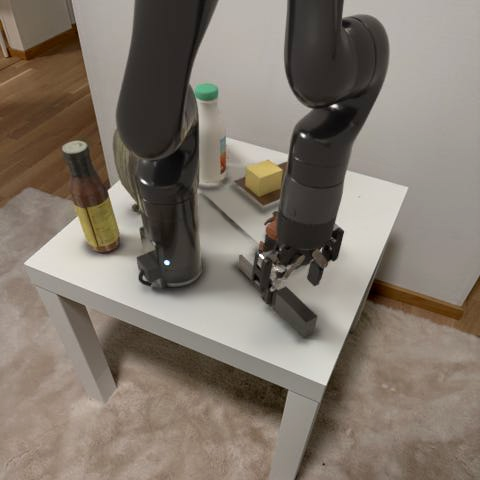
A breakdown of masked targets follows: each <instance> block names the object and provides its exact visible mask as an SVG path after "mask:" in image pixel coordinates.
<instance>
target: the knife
mask: <svg viewBox="0 0 480 480" xmlns="http://www.w3.org/2000/svg"><path fill="white" fill-rule="evenodd" d="M238 269H239V270H240V271H241V272H243V273H244V275H245V276H247V278H249V280H251V276H252V270H253V263H251V262H250V261H249V260H248V259H247V258H246V257H245V256H244V255H243V254H238ZM272 309H273V310H274V311H275V312H276V313H277V314H278V315H279V316H280V317H281V318H282V319H283V321H285V322H286V323H287V325H289V326H290V327H291V329H293V330H294V331H295V332H296V333H297V334H298V335H299V336H300V337H301V339H304V338H306V337H308V336H309V335H311V334H313V333H314V332H315V328H316V324H317V321H318V316H319V315H317V314H316V313H315V312H314V311H313V310H312V309H311V308H309V307H308V305H306V303H304V302H303V301H302V300H301V299H300V298H299V297H298V296H297V295H296V294H295V293H294V292H293V291H292V290H291V289H290V288H289V287H287V286H286V285H285V286H283V287H281V288H279V289H278V290H277V296H276V302H275V305H274V306H272Z"/></svg>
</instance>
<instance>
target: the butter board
mask: <svg viewBox="0 0 480 480" xmlns="http://www.w3.org/2000/svg"><path fill="white" fill-rule="evenodd" d="M276 165H277V166H278V167H279V168H281V169H282V170H283V172H282V181H281V187H282V182H283V179H284V175H285V172H286V168H287V161H285V162H282V163H280V164H276ZM245 179H246V176H244V177H241V178H238V179H235V180H234V181H233V182H234V183H235V184H236V185H238V186H239V187H240V188H241V189H242V190H244V191H245V192H246V193H247V194H248V195H250V196H251V197H252V198H253V199H254V200H256V201H257V202H258V203H259V204H261V206H263V207H265V206H268V205H269V204H271V203H275V202H277V201H280V194H281V189H278V190H275V191H273V192H270V193H268V194H265V195H263V196H260V197H258V196H257V195H256V194H254V193H253V192H252V191H251V190H250V189H248V188H247V187H246V186H245Z"/></svg>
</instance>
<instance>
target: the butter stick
mask: <svg viewBox="0 0 480 480" xmlns="http://www.w3.org/2000/svg"><path fill="white" fill-rule="evenodd" d="M277 165H278V164H276V163H274V161H271V159H265V160H263V161H259V162H256V163H253V164H252V165H251V164H250V165H249V166H246V167H245V177H246V179H245V186H246V187H247V188H248V189H250V190H251V191H252V192H253V193H254V194H256V195H257V196H258V197H260V196H263V195H265V194H268V193H270V192H273V191H275V190H278V189H281V181H282V172H283V170H282V169H281V168H279V167H278V166H277Z"/></svg>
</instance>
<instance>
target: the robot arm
mask: <svg viewBox="0 0 480 480" xmlns="http://www.w3.org/2000/svg"><path fill="white" fill-rule="evenodd" d="M219 1H220V0H134V3H133V15H132V17H133V18H132V29H131V37H130V45H129V48H128V55H127V59H126V63H125V68H124V73H123V77H122V82H121V85H120V90H119V94H118V97H117V103H116V108H115V124H116V125H115V126H116V129H117V130H118V133H119V136H120V138H121V140H122V142H123V143H124V145H125V147H126V148H127V149H128V150H129V151H130V152H131V153H132V154H133V155H134V156H135V157H137V158H138V162H137V166H136V171H135V183H136V188H137V194H138V200H139V205H140V206H139V207H140V208H139V211H140V217H141V223H142V226H140V227H139V229H138V230H139V237H140V241H141V247H142V253H143V254H141V255H138V256H136V258H135V260H136V264H137V268H138V270H139V273H138V281H139V283H140V284H141V285H144V286H147V287H151V286H152V285H153V282H156V283H157V285H158V286H159V287H160V288H161V289H166V288H180V287H186V286H188V285H191V284H192V283H194V282H195V281H196V280H198V279H199V278H200V276H201V274H202V271H203V262H202V256H201V255H202V254H201V253H202V251H201V250H202V249H201V231H200V215H199V195H198V190H197V174H198V168H199V157H200V153H199V113H198V104H197V99H196V96H195V90H194V89H193V87H192V86H191V83H190V81H191V76H192V73H193V68H194V65H195V61H196V58H197V55H198V53H199V49H200V47H201V45H202V42H203V40H204V38H205V35H206V32H207V30H208V29H209V26H210V23H211V21H212V19H213V16H214V14H215V12H216V9H217V7H218V4H219ZM344 3H345V0H286V13H285V14H286V17H285V28H284V29H285V30H284V41H283V42H284V43H283V65H284V72H285V73H284V74H285V77H286V80H287V84H288V87H289V89H290V90H291V93H292V94H293V95H294V97H295V98H296V99H297V101H298V102H299V103H300V104H301V105H302V106H304V107H306V108H308V109H311V110H310V111H309V112H308V113H306V114H305V115H304V116H303V117H302V118H300V119H299V120H298V121H297V122H296V123H295V125H294V126H293V129H292V132H291V136H290V140H289V148H288V154H287V161H286V162H287V168H286V172H285V175H284V179H283V182H282V187H281V194H280V199H279V200H278V201H279V202H278V210H277V211H278V215H277V222H276V234H277V243H276V245H275V246H274V249H273V250H271V251H268V252H264V251H263V250H262V249H260V250H259V249H258V250H256V251H255V253H254V258H253V263H252V265H253V270H252V276H251V279H250V283H251V284H252V285H253V286H255V288H256V289H257V290H258V291H259V293H260V294H261V295H260V298H261V300H262V301H263V302H264V304H266V306H268V307H269V308H271V307H272V308H273V306H274V305H275V302H276V296H277V290H279V289H278V287H279V286H280V285H281V283H282V282H283V281H287V280H289V278H290V276H291V275H292V274H293V272H294V271H296V270H298V269H299V268H301V267H305V266H307V265H309V267H308V271H307V275H306V279H307V281H308V282H309V284H311V285H312V286H313V287H317V286H319V285H320V283H321V280H322V279H323V275H324V271H325V269H326V268H327V267H328V265H329V262H335V261H337V260H338V258H339V255H340V251H341V247H342V243H343V238H344V235H345V230H344V229H343V228H342V227H340V226H339V225H338V224H336V221H337V217H338V214H339V210H340V206H341V202H342V199H343V194H344V186H345V179H346V175H347V171H348V167H349V163H350V159H351V156H352V152H353V147H354V144H355V142H356V141H357V138H358V136H359V135H360V133H361V131H362V130H363V128H364V125H365V124H366V122H367V120H368V118H369V115H371V114H370V113H371V112H372V109H373V107H374V106H375V104H376V101H377V99H378V97H379V95H380V93H381V92H382V89H383V86H384V83H385V80H386V77H387V73H388V71H389V64H390V54H391V48H390V39H389V35H388V32H387V30H386V28H385V26H384V25H383V23H382V22H381V21H380V20H379V19H378V18H377V17H375V16H373V15H370V14H365V13H362V14H361V13H360V14H359V13H358V14H353V15H349V16H345V17H343V13H344V5H345V4H344ZM279 261H280V262H281V265H282V266H284V267H285V269H284V270H283V269H282V268H281V267H280V266H279V263H278V262H279ZM274 274H275V278H274V279H272V277H273V275H274ZM143 277H144V278H145V279H146V280H144V278H143Z"/></svg>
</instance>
